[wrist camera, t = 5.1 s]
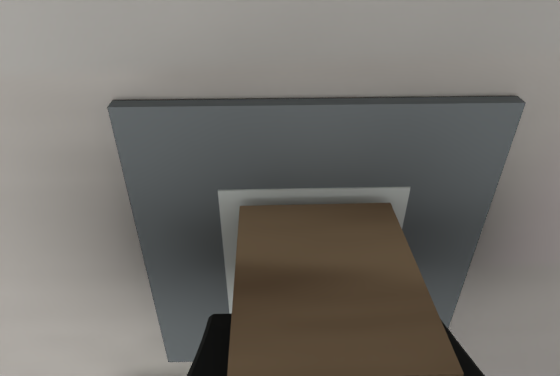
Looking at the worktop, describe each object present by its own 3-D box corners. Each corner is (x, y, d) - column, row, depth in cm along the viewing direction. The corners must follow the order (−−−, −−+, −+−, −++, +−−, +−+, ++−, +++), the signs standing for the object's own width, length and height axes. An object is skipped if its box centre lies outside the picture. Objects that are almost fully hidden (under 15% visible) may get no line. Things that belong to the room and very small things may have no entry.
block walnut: (372, 305, 14) (421, 482, 10) (246, 309, 14) (239, 489, 9) (390, 202, 11) (463, 373, 7) (239, 205, 11) (226, 381, 7)
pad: (435, 345, 16) (439, 355, 16) (170, 352, 16) (168, 363, 16) (517, 96, 11) (526, 103, 10) (112, 100, 10) (106, 108, 10)
